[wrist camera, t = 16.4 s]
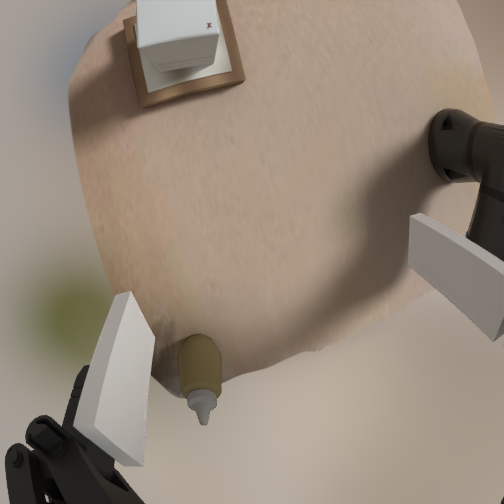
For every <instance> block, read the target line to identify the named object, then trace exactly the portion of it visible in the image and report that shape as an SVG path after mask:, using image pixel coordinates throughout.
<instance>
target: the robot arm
mask: <svg viewBox="0 0 504 504" xmlns="http://www.w3.org/2000/svg"><path fill="white" fill-rule="evenodd" d="M429 153H430V158H431V161H432V164H433V166H434V168H435V170H436V172H437V173H438V174H439V175H440V176H441V177H442V178H443V179H445V180H448V181H451V182H454V183H464V182H479V183H480V188H479V192H478V196H477V200H476V204H475V208H474V211H473V215H472V218H471V222H470V225H469V228H468V231H467V232H466V236H465V237H466V238H465V237H463V236H462V235H460V234H458V233H457V232H455V231H453V230H451V229H450V228H448V227H446V226H444V225H443V224H441V223H439V222H437V221H435V220H433V219H432V218H430V217H428V216H426V215H424V214H422V213H418V214H415V215H411V216H410V224H409V248H408V263H407V265H408V266H409V267H410V268H412V269H413V270H414V271H415V272H417V273H418V274H419V275H420V276H421V277H423V278H424V279H425V280H426V281H427V282H429V283H430V284H431V285H432V286H433V287H434V288H436V289H437V290H438V291H439V292H440V293H441V294H442V295H444V296H445V297H446V298H447V299H448V300H449V301H450V302H451V303H453V304H454V305H455V306H456V307H457V308H458V309H459V310H460V311H461V312H463V313H464V314H465V315H466V316H467V317H468V318H469V319H470V320H471V321H472V322H473V323H474V324H475V325H476V326H477V327H478V328H479V329H480V330H481V331H483V332H484V333H485V334H486V335H487V336H488V337H489V338H490V339H491V340H492V341H493V342H494V341H495V340H496V339H498V338H499V337H500V336H501V335H503V333H504V125H499V124H494V123H488V122H482V121H479V120H478V119H476V118H474V117H472V116H471V115H469V114H467V113H465V112H463V111H461V110H458V109H444V110H442V111H441V112H439V113H438V114H437V116H436V117H435V119H434V120H433V123H432V125H431V129H430V134H429ZM483 193H484V194H483ZM154 343H155V337H154V335H153V333H152V331H151V329H150V327H149V326H148V324H147V322H146V320H145V318H144V316H143V314H142V312H141V310H140V308H139V306H138V304H137V302H136V300H135V298H134V296H133V294H132V292H131V291H129V292H125V293H121V294H117V295H116V296H115V298H114V301H113V303H112V306H111V309H110V311H109V313H108V316H107V319H106V321H105V324H104V327H103V329H102V332H101V335H100V338H99V340H98V343H97V346H96V349H95V352H94V355H93V358H92V361H91V364H90V365H86V366H84V367H83V368H82V370H81V371H80V372H79V374H78V375H77V377H76V380H75V383H74V386H73V388H74V389H73V390H72V393H71V398H70V400H69V403H68V406H67V410H66V413H65V417H64V420H63V424H62V427H61V426H60V425H59V424H58V423H57V422H56V421H55V420H53V419H52V418H51V417H49V416H47V415H42V416H39V417H37V418H35V419H34V420H33V421H32V422H31V423H30V424H29V426H28V428H27V431H26V435H25V438H26V443H27V444H28V445H30V446H31V447H32V448H33V449H35V450H32V451H30V450H29V449H28V448H27V447H26V446H24V445H23V444H20V443H17V444H14V445H12V446H11V447H10V448H9V449H8V451H7V454H6V456H5V470H6V479H7V488H8V494H9V501H10V504H145V503H144V502H143V501H142V500H141V499H140V497H139V496H138V495H137V494H136V493H135V492H134V490H133V489H132V488H131V487H130V486H129V484H128V483H127V482H126V481H125V479H124V478H123V477H122V475H121V474H120V473H119V472H118V471H117V470H116V469H115V468H114V462H115V460H116V461H117V462H119V463H120V464H121V465H123V466H144V446H145V429H146V415H147V403H148V392H149V383H150V374H151V366H152V358H153V350H154ZM45 495H47V496H48V499H49V503H48V502H46V498H45ZM501 504H504V498H503V499H502V501H501Z"/></svg>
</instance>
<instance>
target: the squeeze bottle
mask: <svg viewBox="0 0 504 504" xmlns="http://www.w3.org/2000/svg"><path fill="white" fill-rule="evenodd" d="M178 365H179V374H180V382H181V390H182V394H183V396H184V397H185V398H186V399H187V401H188V406H189V408H191V409H192V410H194V411H196V413H197V416H198V419H199V422H200V424H201V425H207V424H208V419H209V414H210V411H211V410H213V409H214V408H216V406H217V398H218V397H219V396H220V394H221V366H222V359H221V353H220V351H219V350H218V348H217V347H216V345H215V343H214V342H213V341H212V339H211V338H209V337H208V336H205V335H200V334H199V335H193V336H190V337H188V338H187V339H186V340H185V342H184V344H183V346H182V347H181V349H180V351H179V354H178Z"/></svg>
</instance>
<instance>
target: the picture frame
mask: <svg viewBox="0 0 504 504" xmlns="http://www.w3.org/2000/svg"><path fill="white" fill-rule="evenodd" d="M216 7H217V14H218V22H219V31H220V35H219V40H218V45H217V50H216V56H215V61H214V64H208V65H201V66H194V67H188V68H182V69H176V70H171V71H165V72H159V71H158V70H157V69H156V68H155V67H154V65H153V64H152V63H151V62H150V61H149V60H148V58H147V57H146V56H145V55H144V54H143V53H142V51H141V50H139V49H138V48H137V31H136V16H133V17H130V18H128V19H125V20H123V25H124V31H125V36H126V42H127V47H128V53H129V58H130V63H131V68H132V73H133V77H134V82H135V87H136V91H137V95H138V100H139V104H140V107H142V108H147V107H150V106H153V105H156V104H159V103H162V102H166V101H169V100H172V99H176V98H179V97H183V96H187V95H190V94H194V93H198V92H202V91H206V90H211V89H215V88H220V87H224V86H229V85H234V84H240V83H243V82H244V81H245V80H246V79H245V75H244V70H243V66H242V62H241V58H240V54H239V49H238V45H237V41H236V37H235V33H234V29H233V25H232V21H231V17H230V14H229V10H228V6H227V2H226V0H216Z"/></svg>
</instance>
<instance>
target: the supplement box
mask: <svg viewBox="0 0 504 504" xmlns="http://www.w3.org/2000/svg"><path fill="white" fill-rule="evenodd" d="M136 31H137V48H138V49H139V50H141V51H142V53H143V54H144V55H145V56H146V57H147V58H148V60H149V61H150V62H151V63H152V64H153V65H154V67H155V68H156V69H157V70H158V71H159V72H165V71H171V70H176V69H182V68H188V67H194V66H201V65H208V64H214V61H215V56H216V50H217V45H218V40H219V35H220V31H219V22H218V14H217V7H216V0H137V6H136Z"/></svg>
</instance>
